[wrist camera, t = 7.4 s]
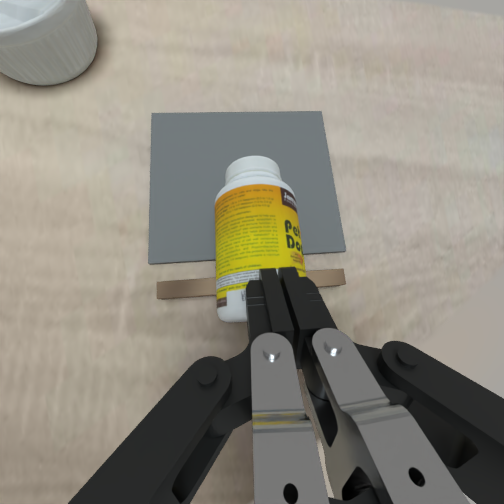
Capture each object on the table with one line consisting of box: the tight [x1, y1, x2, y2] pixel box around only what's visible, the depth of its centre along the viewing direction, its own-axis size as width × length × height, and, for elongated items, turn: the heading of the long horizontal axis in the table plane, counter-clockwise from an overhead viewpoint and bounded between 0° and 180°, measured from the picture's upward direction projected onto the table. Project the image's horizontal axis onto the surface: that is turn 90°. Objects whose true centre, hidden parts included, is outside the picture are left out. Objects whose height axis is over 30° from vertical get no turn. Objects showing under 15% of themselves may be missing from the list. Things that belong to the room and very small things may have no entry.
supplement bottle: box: [215, 156, 306, 322], centre depth 15 cm, size 6×6×10 cm
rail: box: [157, 269, 346, 299], centre depth 18 cm, size 14×1×1 cm, turn 95°
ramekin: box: [0, 0, 97, 85], centre depth 20 cm, size 11×11×5 cm
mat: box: [148, 111, 346, 264], centre depth 20 cm, size 16×14×1 cm
